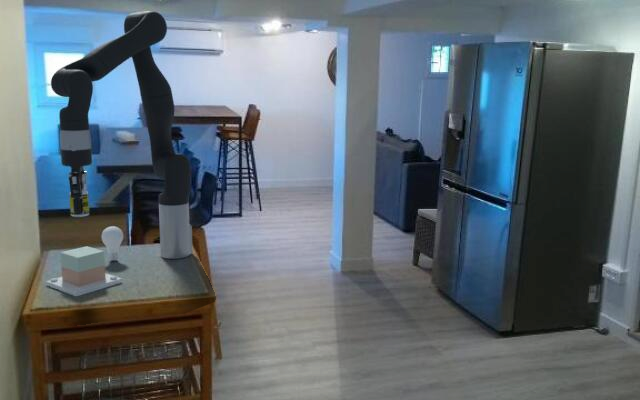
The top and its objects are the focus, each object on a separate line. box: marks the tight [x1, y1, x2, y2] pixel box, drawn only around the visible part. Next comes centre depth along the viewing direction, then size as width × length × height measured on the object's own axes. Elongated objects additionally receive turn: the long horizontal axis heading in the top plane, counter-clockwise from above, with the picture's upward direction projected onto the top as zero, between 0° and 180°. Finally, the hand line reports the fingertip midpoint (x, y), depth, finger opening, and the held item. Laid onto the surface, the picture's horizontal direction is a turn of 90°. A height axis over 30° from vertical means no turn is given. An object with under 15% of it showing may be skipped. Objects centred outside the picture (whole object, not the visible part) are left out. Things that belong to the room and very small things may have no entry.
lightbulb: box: [101, 225, 124, 262], centre depth 186 cm, size 6×6×11 cm
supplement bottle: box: [68, 184, 90, 218], centre depth 161 cm, size 5×5×8 cm
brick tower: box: [45, 245, 123, 297], centre depth 165 cm, size 14×14×9 cm
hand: (80, 210), depth 162 cm, fingers closed on supplement bottle, 4 cm apart
